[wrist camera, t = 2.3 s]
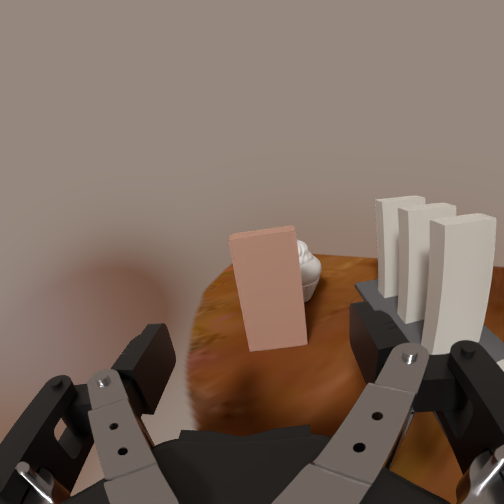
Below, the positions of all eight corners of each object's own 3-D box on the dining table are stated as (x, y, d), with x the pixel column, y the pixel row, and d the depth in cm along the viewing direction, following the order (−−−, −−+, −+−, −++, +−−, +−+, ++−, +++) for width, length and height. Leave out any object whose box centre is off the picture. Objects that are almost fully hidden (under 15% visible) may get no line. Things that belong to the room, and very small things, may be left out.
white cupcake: (283, 316, 29) (274, 251, 28) (263, 296, 35) (253, 240, 33) (334, 299, 31) (330, 237, 29) (308, 282, 37) (302, 229, 35)
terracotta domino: (307, 344, 24) (295, 230, 21) (250, 351, 24) (228, 240, 22) (305, 332, 26) (293, 225, 23) (251, 339, 26) (231, 234, 24)
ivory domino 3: (479, 341, 17) (496, 218, 14) (431, 358, 18) (444, 225, 15) (467, 330, 19) (480, 213, 16) (420, 344, 20) (429, 219, 17)
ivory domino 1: (424, 289, 28) (425, 197, 25) (384, 298, 28) (382, 202, 25) (416, 283, 30) (416, 195, 27) (378, 290, 30) (374, 199, 27)
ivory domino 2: (449, 312, 22) (456, 205, 20) (405, 324, 23) (408, 211, 20) (439, 303, 24) (443, 202, 22) (397, 313, 25) (397, 207, 22)
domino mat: (549, 397, 9) (552, 392, 9) (455, 454, 10) (458, 450, 10) (419, 274, 32) (419, 271, 32) (355, 286, 33) (354, 282, 33)
